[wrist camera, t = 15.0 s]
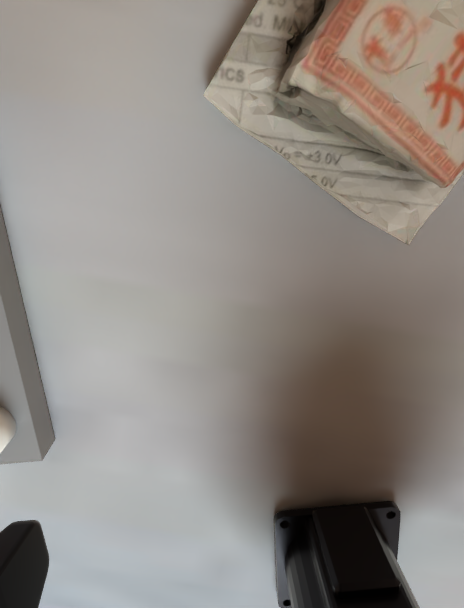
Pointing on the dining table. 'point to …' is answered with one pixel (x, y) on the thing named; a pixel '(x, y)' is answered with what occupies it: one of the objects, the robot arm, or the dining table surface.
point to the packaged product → (355, 99)
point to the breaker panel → (19, 374)
